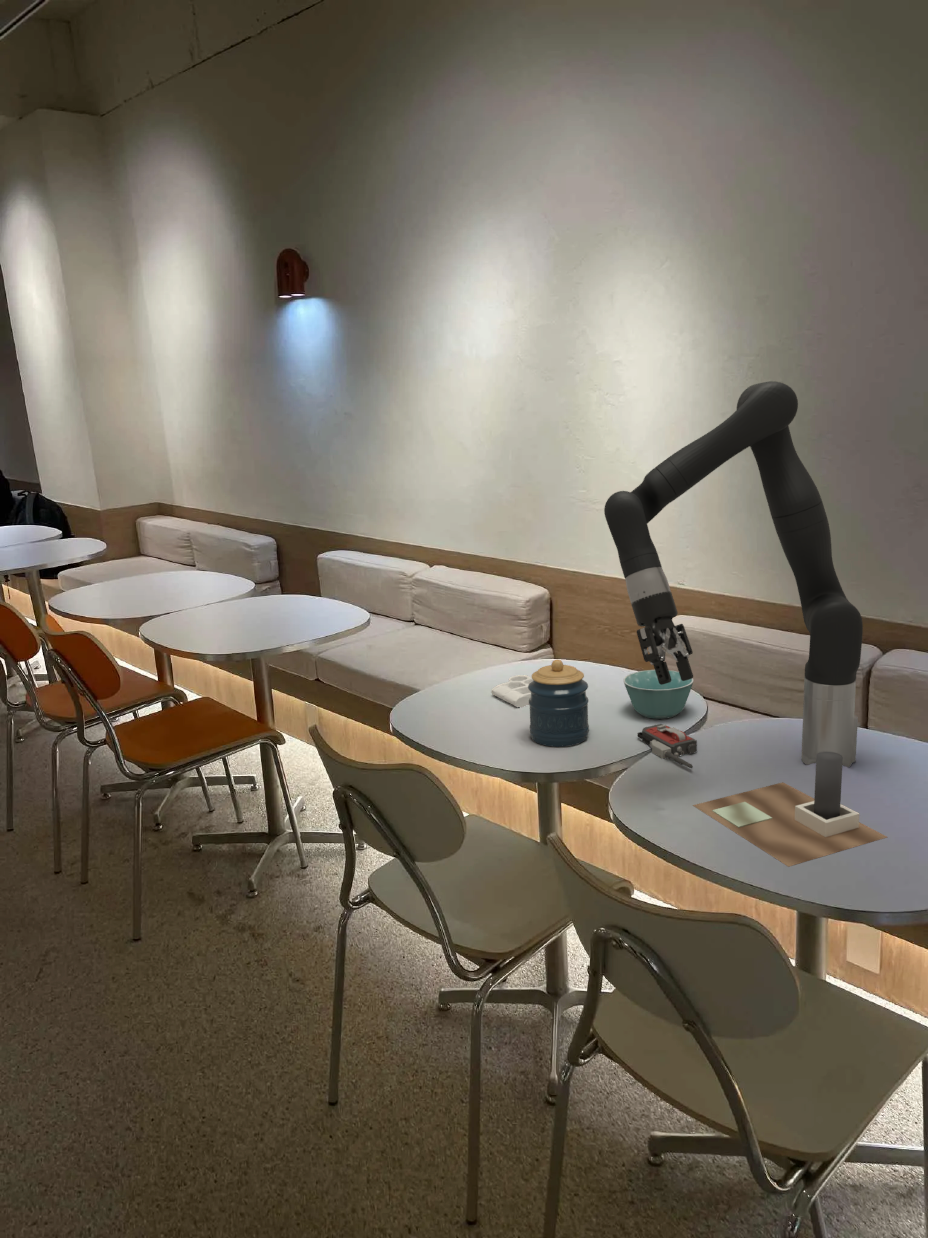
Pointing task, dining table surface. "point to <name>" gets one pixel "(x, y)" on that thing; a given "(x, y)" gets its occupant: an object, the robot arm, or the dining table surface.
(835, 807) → the plug
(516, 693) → the white brass knuckles
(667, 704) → the bowl
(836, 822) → the white square frame
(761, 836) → the brown wooden flat board
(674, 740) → the walkie-talkie
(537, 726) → the canister
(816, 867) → the dining table surface
